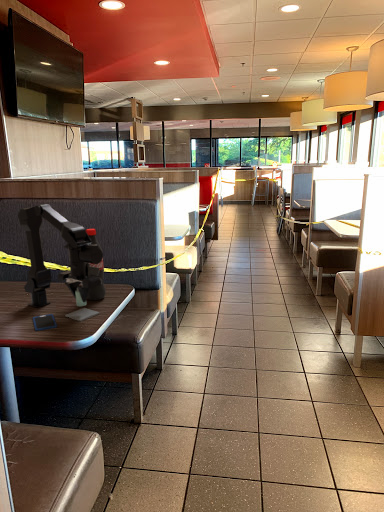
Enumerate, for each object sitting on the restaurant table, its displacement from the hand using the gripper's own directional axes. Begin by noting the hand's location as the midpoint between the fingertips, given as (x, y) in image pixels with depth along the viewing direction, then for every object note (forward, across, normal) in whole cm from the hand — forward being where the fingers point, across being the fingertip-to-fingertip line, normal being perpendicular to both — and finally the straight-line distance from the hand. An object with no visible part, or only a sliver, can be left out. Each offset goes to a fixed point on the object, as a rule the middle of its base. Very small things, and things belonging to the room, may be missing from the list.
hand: (81, 300), depth 149 cm
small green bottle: (+2, 0, 0) cm, 2 cm away
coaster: (+6, 0, 0) cm, 6 cm away
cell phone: (+6, +6, +12) cm, 15 cm away
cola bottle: (+6, +11, -16) cm, 20 cm away
